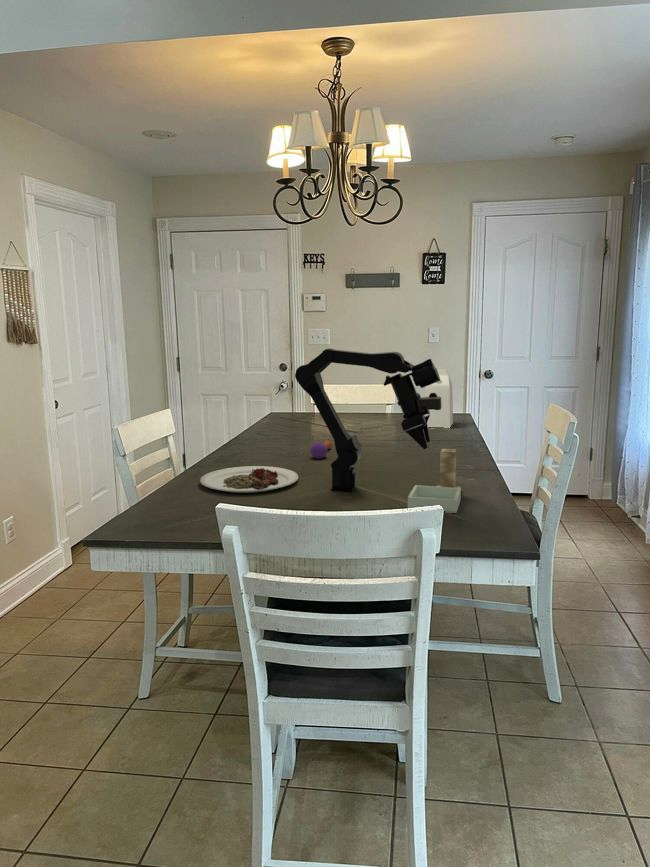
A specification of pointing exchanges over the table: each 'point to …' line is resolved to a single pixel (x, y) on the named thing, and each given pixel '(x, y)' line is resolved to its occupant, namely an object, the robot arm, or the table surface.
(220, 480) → the plated food
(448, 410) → the milk
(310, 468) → the table surface
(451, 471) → the wooden block tower
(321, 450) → the purple and orange maraca
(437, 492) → the box
